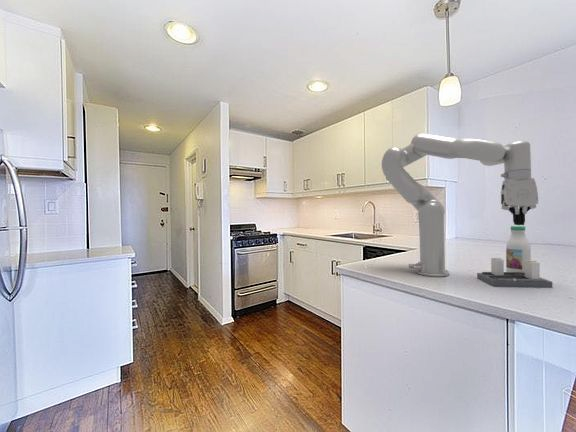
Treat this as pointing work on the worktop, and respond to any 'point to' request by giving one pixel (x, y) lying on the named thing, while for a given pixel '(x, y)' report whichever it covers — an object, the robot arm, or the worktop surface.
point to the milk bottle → (517, 250)
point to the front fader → (532, 269)
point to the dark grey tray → (512, 280)
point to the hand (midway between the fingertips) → (519, 224)
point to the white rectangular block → (497, 266)
